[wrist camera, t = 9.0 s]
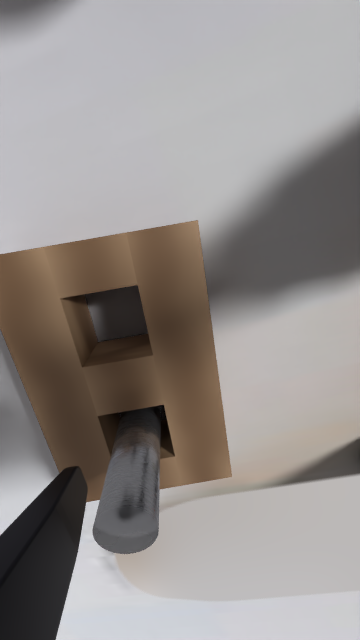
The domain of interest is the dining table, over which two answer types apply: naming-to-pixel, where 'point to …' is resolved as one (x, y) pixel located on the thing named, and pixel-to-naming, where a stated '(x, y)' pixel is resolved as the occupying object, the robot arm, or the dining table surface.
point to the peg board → (118, 350)
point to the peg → (131, 485)
